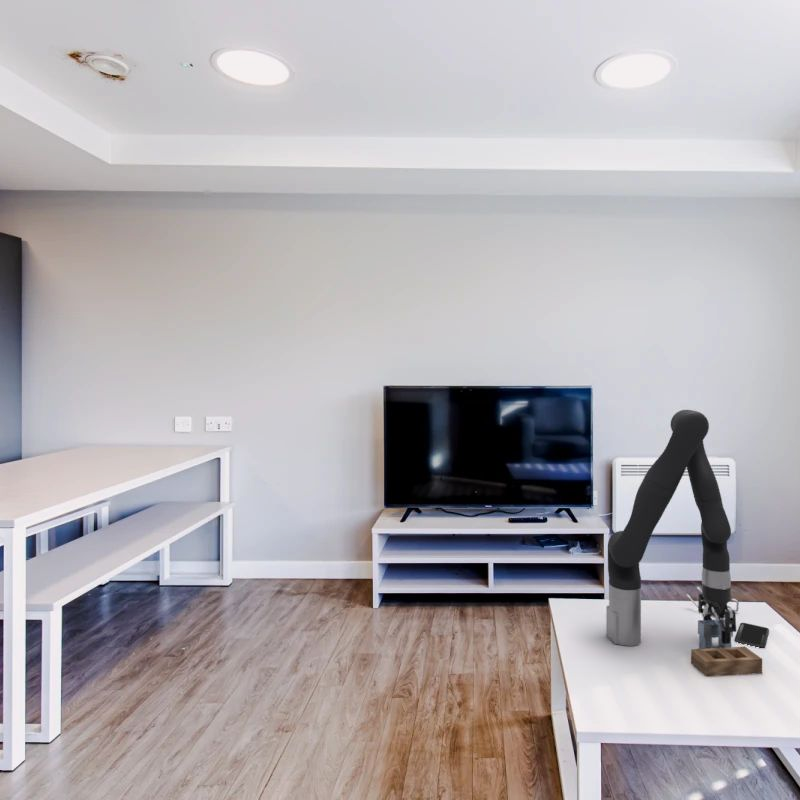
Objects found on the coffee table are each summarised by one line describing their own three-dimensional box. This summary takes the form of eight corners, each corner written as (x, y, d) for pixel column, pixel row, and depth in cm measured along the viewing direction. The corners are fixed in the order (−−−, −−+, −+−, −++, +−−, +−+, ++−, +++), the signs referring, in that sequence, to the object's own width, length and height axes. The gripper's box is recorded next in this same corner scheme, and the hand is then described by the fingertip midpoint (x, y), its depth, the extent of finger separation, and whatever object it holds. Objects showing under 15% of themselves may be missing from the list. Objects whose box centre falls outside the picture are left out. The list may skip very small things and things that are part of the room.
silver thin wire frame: (724, 625, 183) (725, 608, 183) (681, 612, 193) (682, 596, 193) (742, 611, 193) (742, 595, 193) (700, 600, 204) (700, 584, 203)
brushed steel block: (703, 651, 166) (703, 624, 166) (697, 646, 169) (697, 620, 169) (732, 649, 167) (733, 623, 166) (726, 644, 170) (726, 619, 169)
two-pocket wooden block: (706, 676, 153) (706, 661, 153) (691, 663, 160) (691, 649, 160) (762, 673, 154) (762, 659, 154) (744, 660, 161) (745, 646, 161)
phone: (734, 639, 172) (741, 621, 183) (734, 643, 172) (741, 625, 183) (764, 647, 167) (769, 628, 179) (764, 650, 167) (769, 631, 179)
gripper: (690, 575, 174) (690, 626, 175) (719, 593, 160) (719, 648, 161) (713, 573, 175) (713, 624, 175) (744, 591, 160) (744, 646, 161)
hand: (716, 636), depth 168 cm, fingers open, 8 cm apart
